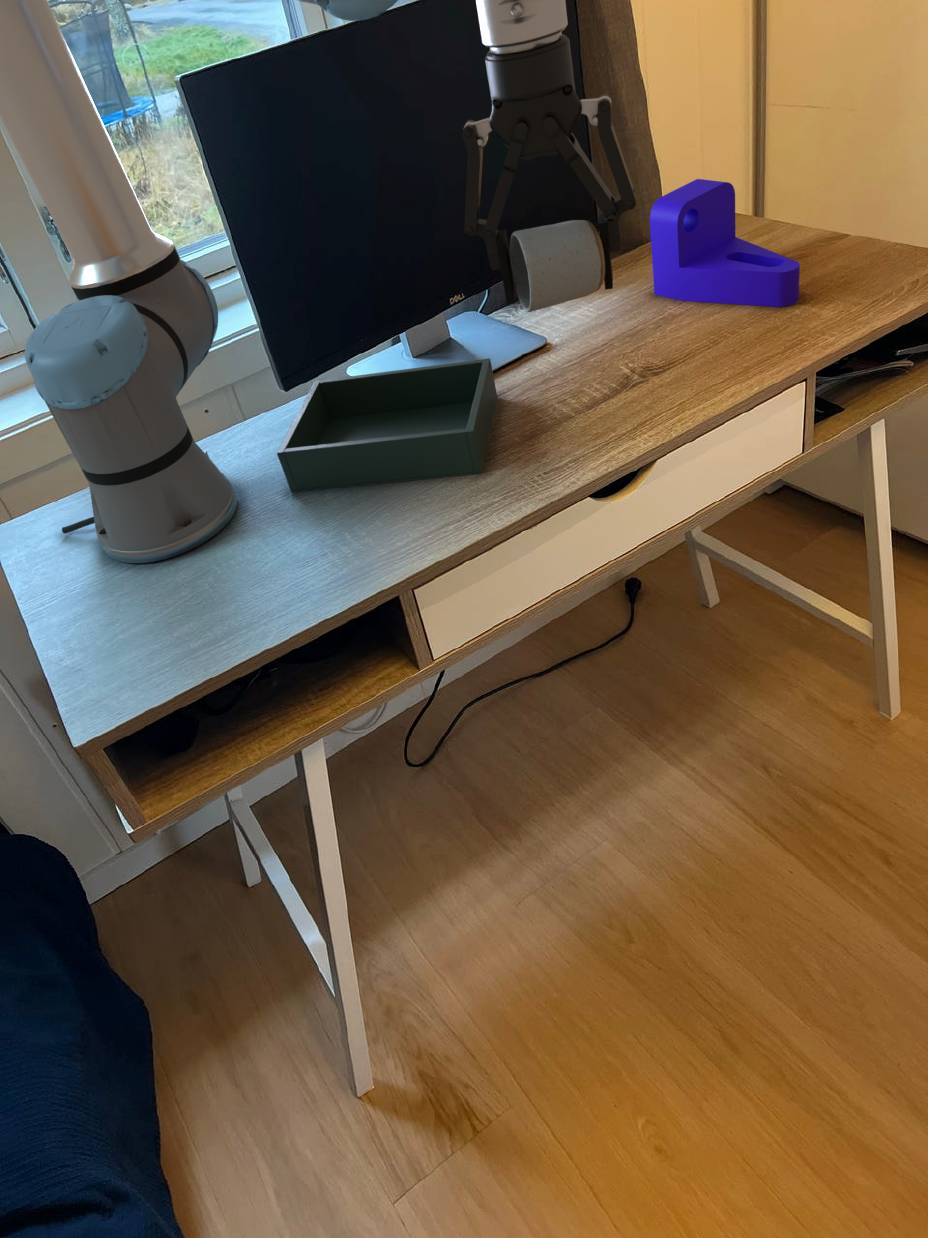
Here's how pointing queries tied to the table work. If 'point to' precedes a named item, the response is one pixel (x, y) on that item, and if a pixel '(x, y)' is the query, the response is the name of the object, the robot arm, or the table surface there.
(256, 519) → the table surface
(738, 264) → the bracket
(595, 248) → the ceramic mug
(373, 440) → the tote
